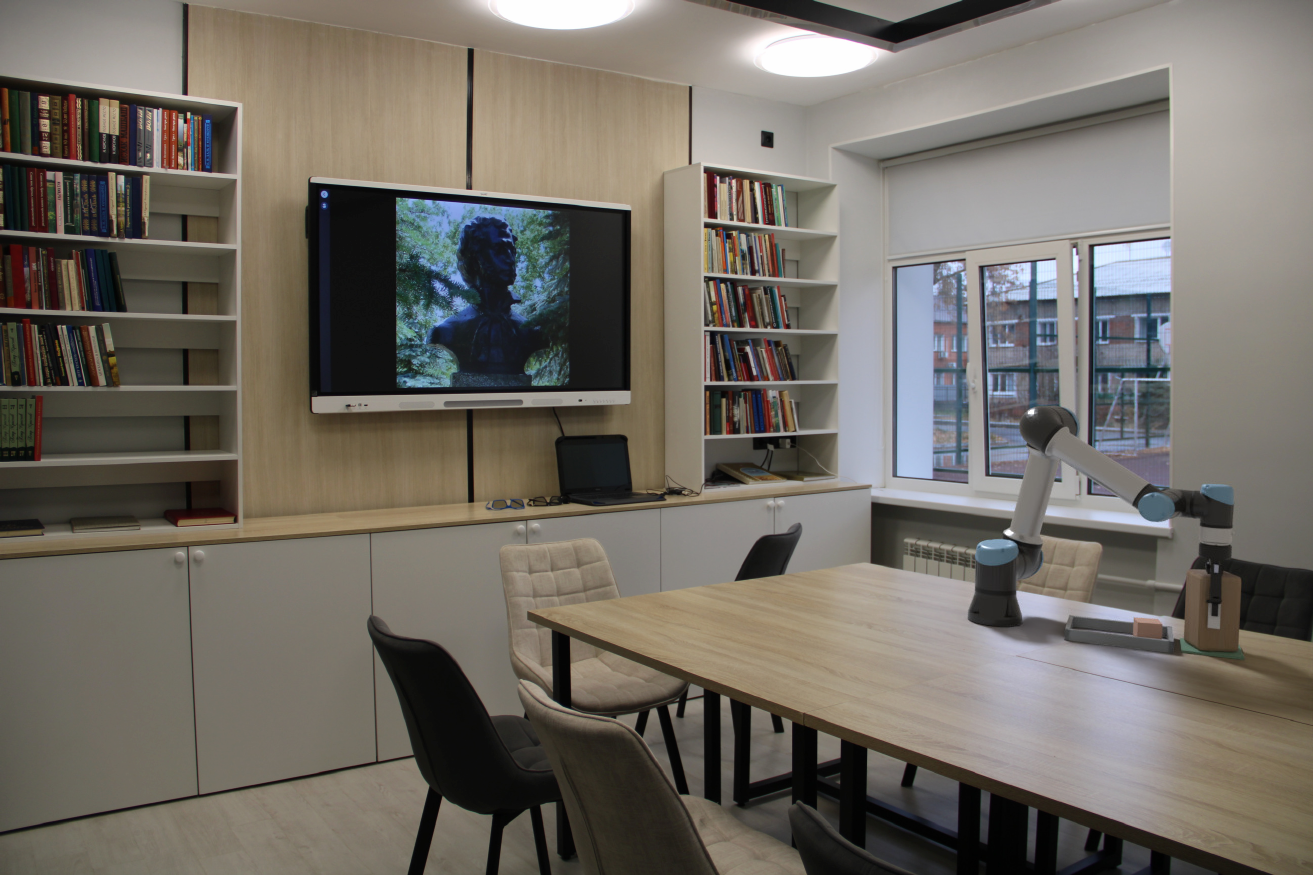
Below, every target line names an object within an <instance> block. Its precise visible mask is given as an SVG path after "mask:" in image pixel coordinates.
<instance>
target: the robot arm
mask: <svg viewBox="0 0 1313 875" xmlns="http://www.w3.org/2000/svg"><path fill="white" fill-rule="evenodd" d="M1080 426H1081V425H1080V421H1079V418H1078V416H1077V415H1076V414H1075V412H1073V411H1072V410H1071V409H1070V408H1067V407H1063V406H1061V405H1046V406H1045V405H1043V406H1042V405H1038V406H1034V407H1033V406H1032V407H1031V408H1029V409H1028V410H1027V411H1025V412H1024V413H1023V414H1022V415H1021V418H1020V420H1019V424H1018V429H1019V434H1020V435H1021V437H1022V439H1023V441H1025V442H1026V444H1025V447H1026V448H1027V450H1028V452H1029V453H1028V454H1029V455H1028V458H1027V462H1026V464H1025V465H1026V466H1025V469H1024V470H1025V471H1024V472H1023V477H1022V480H1021V484H1020V485H1021V486H1020V488H1019V492H1018V496H1017V500H1016V503H1015V507H1014V512H1013V514H1012V519H1011V522H1010V527H1008V528H1007V529H1004V530H1003V532H1002V535H1001V538H997V539H996V538H994V539H986V540H983V541H980V542H979V543H978V544H977V545H976V549H975V555H974V559H975V561H974V564H975V566H974V567H975V568H974V569H975V570H974V594H973V596H972V599H971V602H970V605H969V607H968V610H967V619H968V620H969V621H970V622H972V623H975V624H978V625H986V626H990V627H1017V626H1019V625H1022V623H1023V614H1022V611H1021V608H1020V604H1019V601H1018V598H1017V597H1018V596H1017V589H1018V588H1017V587H1018V586H1017V585H1018V581H1020V580H1026V579H1029V578H1030V577H1032V576H1034V575H1036V574H1037V573H1038V572H1039V571H1040V570H1041V568H1042V567H1043V564H1044V560H1045V559H1044V557H1045V556H1044V552H1043V550H1042V548H1043V544H1044V540H1043V538H1042V537H1041V535H1040V534H1041V530H1042V527H1043V523H1044V521H1045V516H1046V511H1047V510H1048V507H1049V502H1050V498H1051V493H1052V490H1053V487H1054V483H1055V479H1056V476H1057V472H1058V470H1059V469H1058V468H1059V466H1060V461H1061V462H1063V463H1065V464H1066V465H1068V466H1070V468H1073V469H1074V470H1076V471H1077V472H1079V473H1080V474H1082V475H1083V476H1085V477H1086V478H1088V479H1089V480H1091V481H1093V482H1094V483H1096V484H1097V485H1098V486H1101V487H1102V488H1104V489H1105V490H1107V491H1108V492H1109V493H1111V494H1113V495H1115V496H1116V497H1118V498H1119V499H1121V500H1122V501H1124V502H1125V503H1126V504H1129V505H1130V506H1131V507H1133V508H1134V509H1136V510H1137V511H1138V513H1139V514H1140V516H1141V517H1142V518H1143V519H1145V521H1148V522H1151V523H1161V522H1162V523H1163V522H1166V521H1168V520H1171V519H1175V518H1184V519H1186V518H1187V519H1198V520H1199V525H1198V526H1199V527H1198V528H1199V529H1198V540H1199V541H1200V542H1199V543H1198V556H1199V557H1201V558H1203V559H1206V560H1207V561H1206V563H1205V566H1204V568H1205V569H1204V570H1206V572H1207V574H1210V593H1209V598H1210V600H1208V599H1207V600H1206V603H1209V604H1208V628H1214V629H1220V614H1221V602H1222V599H1221V596H1222V575H1223V571H1225V570H1224V566H1223V564H1221V561H1222V560H1224V561H1226V560H1230V559H1232V554H1233V552H1232V551H1233V550H1232V549H1233V546H1232V545H1231V543H1232V542H1233V536H1235V535H1236V532H1235V531H1233V528H1234V511H1235V510H1234V509H1235V493H1234V491H1235V490H1234V488H1233V487H1232V486H1231V485H1229V484H1219V483H1216V484H1215V483H1203V484H1202V485H1201V488H1200V490H1189V489H1182V488H1181V489H1179V488H1170V487H1157V486H1155V485H1153V484H1152V483H1151V482H1150V481H1147V480H1146V479H1145V478H1143V477H1141V476H1139V475H1138V474H1136V473H1135V472H1134V471H1132V470H1130V469H1128V468H1126V467H1125V466H1124V465H1122V464H1120V463H1119V462H1117V461H1115V460H1114V459H1112V458H1111V457H1109V456H1107V455H1106V454H1104V453H1102V452H1101V451H1100V450H1098V449H1096V448H1094V447H1093V446H1092V445H1090V444H1089V443H1086V442H1085V441H1083V440H1082V439H1080V438H1079V437H1078V436H1079V433H1080V430H1081V429H1080V428H1081V427H1080Z"/></svg>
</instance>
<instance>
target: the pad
mask: <svg viewBox="0 0 1313 875" xmlns="http://www.w3.org/2000/svg"><path fill="white" fill-rule="evenodd" d="M1179 644H1180V650H1181V653H1184V654H1194V655H1200V656H1206V657H1207V656H1209V657H1215V658H1217V657H1218V658H1225V659H1233V660H1242V661H1245V655H1244V652H1243V651H1242V650H1243V649H1242V648H1241V646H1240V644H1239V645H1238V651H1236V652H1219V651H1201V650H1198V649H1197V648H1195V647H1193V646H1192V645H1190V644H1188V643H1187V642H1185V640H1184V637H1179Z"/></svg>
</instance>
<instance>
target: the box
mask: <svg viewBox="0 0 1313 875" xmlns="http://www.w3.org/2000/svg"><path fill="white" fill-rule="evenodd" d="M1133 622H1134V623H1133V634H1132V636H1137V637H1145V638H1154V639H1162V640H1163V637H1162V626H1164V625H1163V623H1162V622H1161V621H1160V620H1159V619H1158V618H1151V617H1150V618H1149V617H1134V616H1133Z"/></svg>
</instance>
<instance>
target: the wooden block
mask: <svg viewBox="0 0 1313 875" xmlns="http://www.w3.org/2000/svg"><path fill="white" fill-rule="evenodd" d="M1241 578H1242V577H1240V576H1238V575H1235V574H1233V573H1231V572H1228V571H1226V570H1223V575H1222V596H1221V599H1222V602H1221V614H1220V629H1214V628H1208V604H1209V603H1206V600H1207V599H1208V600H1210V598H1209V593H1210V574H1207V572H1206V570H1205V569H1199V568H1197V569H1194V568H1193V569H1191V568H1190V569H1187V570H1186V580H1185V582H1186V583H1185V584H1186V585H1185V606H1184V607H1185V608H1184V629H1183V630H1184V631H1183V638H1184V640H1185V642H1187V643H1188V644H1190V645H1192V646H1193V647H1195V648H1197V649H1198V650H1201V651H1219V652H1236V651H1238V645H1240V643H1239V642H1240V618H1241V600H1242V598H1241V597H1242V596H1241V595H1242V579H1241Z"/></svg>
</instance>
